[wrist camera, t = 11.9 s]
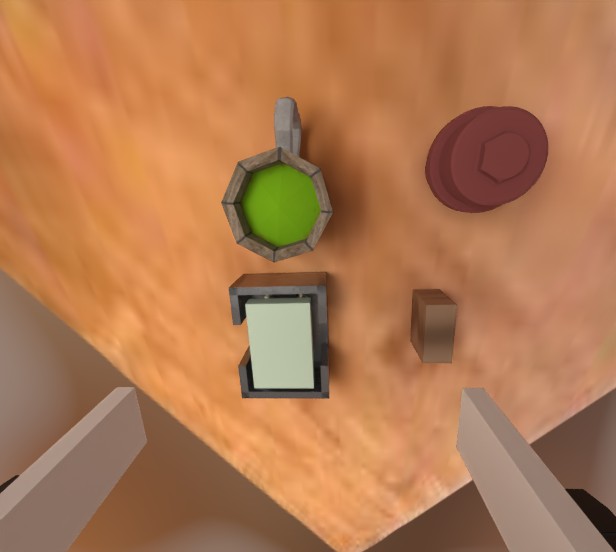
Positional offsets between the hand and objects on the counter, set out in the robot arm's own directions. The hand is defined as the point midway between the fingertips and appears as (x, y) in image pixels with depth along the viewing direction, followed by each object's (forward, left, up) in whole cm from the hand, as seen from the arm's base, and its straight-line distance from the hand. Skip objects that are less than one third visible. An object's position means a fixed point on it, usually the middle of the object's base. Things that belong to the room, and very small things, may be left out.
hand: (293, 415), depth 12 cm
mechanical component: (-11, +17, -31) cm, 37 cm away
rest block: (+9, +15, -31) cm, 35 cm away
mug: (-10, -3, -31) cm, 33 cm away
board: (+10, -5, -26) cm, 28 cm away
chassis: (+10, -5, -31) cm, 33 cm away
